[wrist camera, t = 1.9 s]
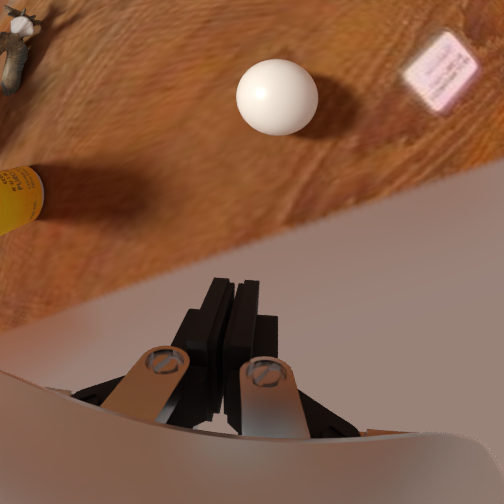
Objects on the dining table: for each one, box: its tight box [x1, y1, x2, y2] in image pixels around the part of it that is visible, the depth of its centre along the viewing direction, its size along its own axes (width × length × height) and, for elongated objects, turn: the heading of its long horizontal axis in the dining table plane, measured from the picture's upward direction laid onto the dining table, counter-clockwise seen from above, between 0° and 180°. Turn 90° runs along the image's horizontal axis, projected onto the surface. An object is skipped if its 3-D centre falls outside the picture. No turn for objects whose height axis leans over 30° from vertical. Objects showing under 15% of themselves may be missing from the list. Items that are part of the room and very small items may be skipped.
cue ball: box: [236, 59, 318, 136], centre depth 18 cm, size 6×6×6 cm
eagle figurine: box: [0, 5, 42, 96], centre depth 16 cm, size 8×8×10 cm
